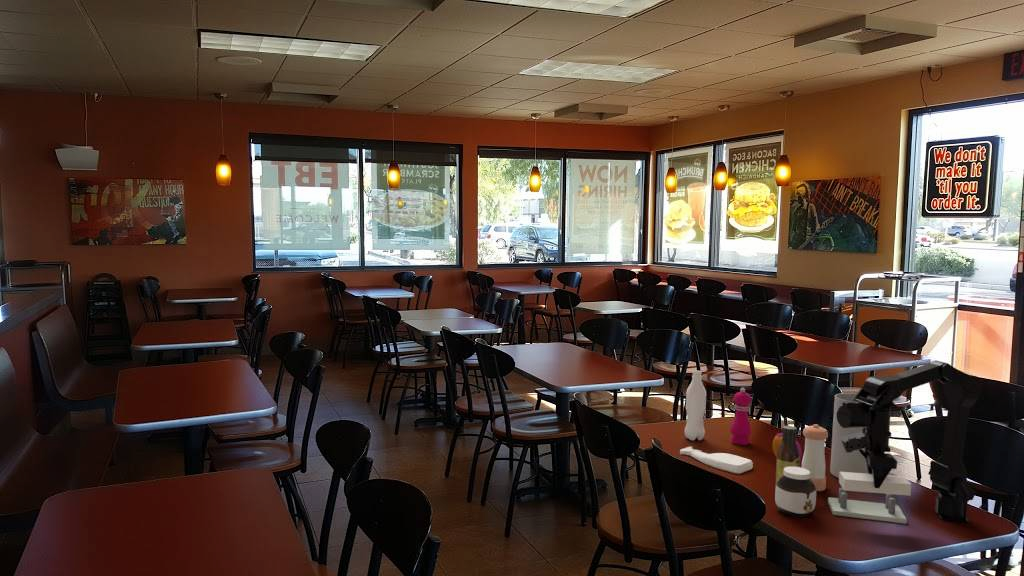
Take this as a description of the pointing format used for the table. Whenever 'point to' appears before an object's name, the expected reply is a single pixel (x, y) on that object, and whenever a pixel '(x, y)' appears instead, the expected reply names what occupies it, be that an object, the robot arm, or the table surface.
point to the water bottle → (695, 407)
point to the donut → (777, 443)
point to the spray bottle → (720, 460)
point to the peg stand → (867, 508)
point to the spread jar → (795, 492)
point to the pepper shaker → (815, 455)
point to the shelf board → (866, 483)
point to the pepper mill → (741, 419)
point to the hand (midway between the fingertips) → (874, 483)
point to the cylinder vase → (839, 456)
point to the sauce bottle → (787, 451)
